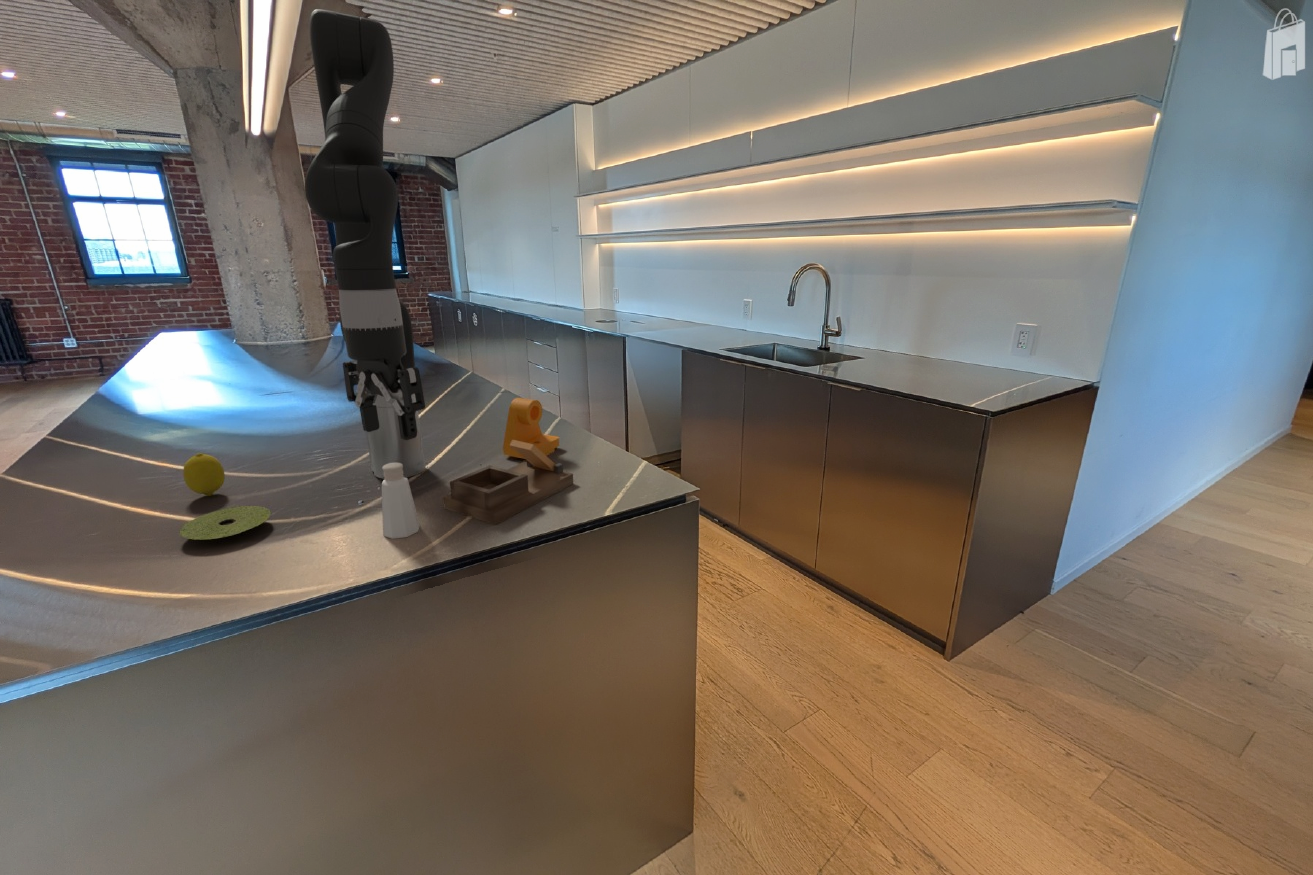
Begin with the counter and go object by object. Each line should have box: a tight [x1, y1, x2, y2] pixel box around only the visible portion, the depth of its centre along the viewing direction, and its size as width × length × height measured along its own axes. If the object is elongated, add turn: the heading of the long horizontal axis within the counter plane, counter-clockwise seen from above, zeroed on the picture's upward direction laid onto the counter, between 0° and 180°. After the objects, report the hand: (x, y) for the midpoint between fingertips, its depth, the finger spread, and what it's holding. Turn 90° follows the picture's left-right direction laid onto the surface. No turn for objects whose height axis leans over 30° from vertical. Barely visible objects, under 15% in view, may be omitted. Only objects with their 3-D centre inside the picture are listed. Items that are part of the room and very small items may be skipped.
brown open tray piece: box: [442, 460, 574, 526], centre depth 100 cm, size 12×20×5 cm, turn 150°
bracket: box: [502, 397, 560, 460], centre depth 120 cm, size 11×7×12 cm, turn 155°
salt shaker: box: [381, 463, 420, 540], centre depth 86 cm, size 5×5×11 cm
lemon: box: [182, 452, 226, 497], centre depth 98 cm, size 6×6×8 cm
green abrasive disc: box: [179, 505, 272, 541], centre depth 86 cm, size 11×11×2 cm
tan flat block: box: [510, 440, 557, 471], centre depth 104 cm, size 5×9×1 cm
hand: (390, 434), depth 83 cm, fingers open, 8 cm apart
